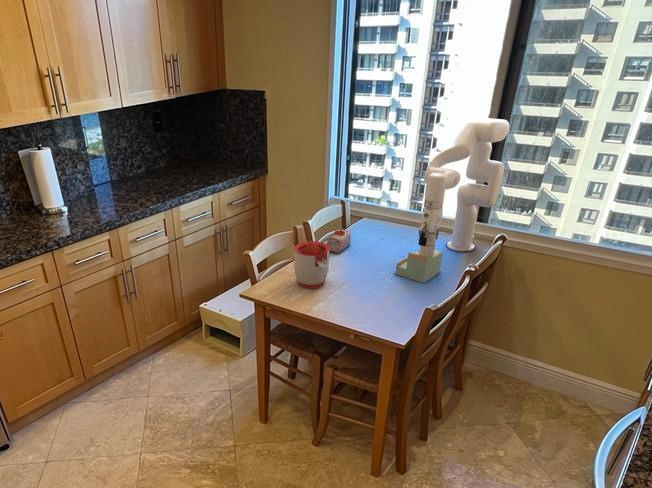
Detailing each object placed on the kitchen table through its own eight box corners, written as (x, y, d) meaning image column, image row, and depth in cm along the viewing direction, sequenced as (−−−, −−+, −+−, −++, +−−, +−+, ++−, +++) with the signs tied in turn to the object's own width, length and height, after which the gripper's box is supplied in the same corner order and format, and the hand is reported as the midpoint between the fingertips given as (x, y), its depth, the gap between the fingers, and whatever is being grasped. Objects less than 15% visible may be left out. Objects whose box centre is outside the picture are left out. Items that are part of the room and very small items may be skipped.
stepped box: (411, 264, 241) (415, 240, 234) (439, 272, 232) (443, 247, 226) (395, 274, 233) (398, 249, 226) (423, 282, 224) (427, 257, 218)
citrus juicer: (308, 296, 219) (309, 252, 208) (287, 280, 232) (286, 239, 222) (338, 286, 225) (340, 244, 214) (315, 272, 238) (316, 231, 227)
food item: (339, 255, 254) (340, 236, 248) (325, 252, 258) (325, 233, 252) (351, 245, 263) (352, 227, 258) (337, 243, 267) (338, 225, 262)
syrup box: (433, 256, 223) (438, 224, 215) (419, 256, 224) (424, 224, 216) (432, 251, 228) (437, 220, 220) (418, 251, 229) (422, 219, 221)
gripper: (431, 210, 206) (425, 250, 216) (452, 200, 216) (445, 238, 225) (414, 207, 211) (409, 245, 220) (435, 196, 221) (430, 234, 230)
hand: (427, 242), depth 223 cm, fingers open, 9 cm apart
